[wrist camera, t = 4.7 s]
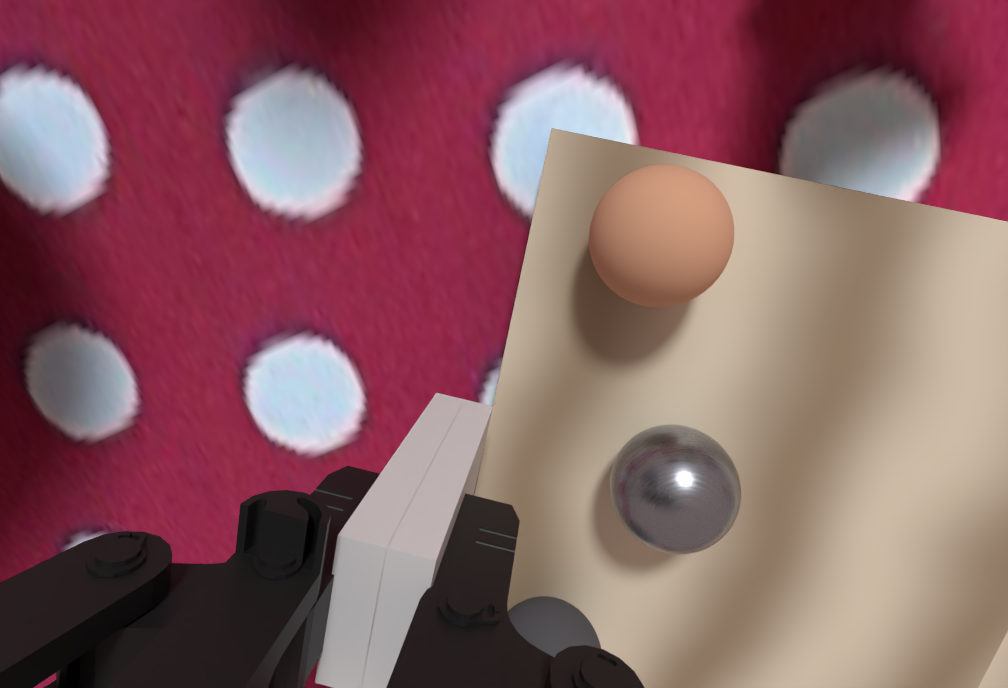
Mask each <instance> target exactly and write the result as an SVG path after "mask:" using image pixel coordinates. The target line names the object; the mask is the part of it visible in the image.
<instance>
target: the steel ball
mask: <svg viewBox="0 0 1008 688" xmlns="http://www.w3.org/2000/svg"><path fill="white" fill-rule="evenodd" d="M610 495H611V500H612V504H613V507H614V509H615V512H616V514H617V516H618V518H619V519H620V521H621V523H622V524H623V526H624V527H625V528H626V529H627V530H628V531H629V532H630V533H631V534H632V535H633V536H634V537H635V538H636V539H637V540H638V541H640V542H641V543H643V544H645V545H646V546H648V547H650V548H652V549H655V550H657V551H660V552H664V553H669V554H691V553H696V552H699V551H702V550H705V549H707V548H709V547H711V546H712V545H714V544H715V543H717V542H718V541H720V540H721V539H722V538H723V537H724V536H725V535H726V534H727V533H728V531H729V530H730V529H731V527H732V526H733V524H734V522H735V520H736V517H737V515H738V512H739V509H740V503H741V485H740V479H739V475H738V472H737V469H736V467H735V465H734V463H733V461H732V459H731V458H730V456H729V455H728V453H727V452H726V451H725V450H724V448H723V447H722V446H721V445H720V444H719V443H718V442H716V441H715V440H714V439H713V438H711V437H710V436H708V435H707V434H705V433H703V432H701V431H699V430H697V429H694V428H691V427H687V426H683V425H674V424H668V425H659V426H654V427H651V428H648V429H646V430H644V431H642V432H640V433H638V434H637V435H635V436H634V437H632V438H631V439H630V440H629V441H628V442H627V443H626V444H625V445H624V446H623V448H622V449H621V450H620V452H619V453H618V455H617V457H616V459H615V461H614V464H613V467H612V470H611V475H610Z"/></svg>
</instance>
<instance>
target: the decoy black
mask: <svg viewBox="0 0 1008 688" xmlns="http://www.w3.org/2000/svg"><path fill="white" fill-rule="evenodd" d="M508 615H509V618H510V621H511V623H512V624H513V626H514V627H515V629H516V630H517V632H518V633H519V634H520V635H521V636H522V637H523V638H524V639H525V640H526V641H528V642H529V643H531V644H532V645H534V646H535V647H537V648H538V649H540V650H542V651H544V652H545V653H547V654H549V655H551V656H553V657H554V658H555V656H556V654H557V653H559V652H560V651H562V650H564V649H566V648H568V647H570V646H581V645H587V646H591V647H596V648H600V649H601V645H600V642H599V639H598V636H597V634H596V631H595V629H594V628H593V626H592V624H591V623H590V621H589V620H588V619H587V617H586V616H585V615H584V614H583V613H582V612H581V611H580V610H579V609H578V608H576V607H575V606H573V605H572V604H570V603H568V602H566V601H564V600H562V599H559V598H555V597H549V596H539V597H533V598H529V599H527V600H524V601H522V602H520V603H518V604H516V605H515V606H514V607H512V608H511V609H510V610H509V611H508Z"/></svg>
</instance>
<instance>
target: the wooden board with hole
mask: <svg viewBox="0 0 1008 688" xmlns="http://www.w3.org/2000/svg"><path fill="white" fill-rule="evenodd" d="M654 165H676V166H682V167H685V168H689V169H691V170H694V171H696V172H698V173H700V174H702V175H703V176H705V177H706V178H708V179H709V180H710V181H711V182H712V183H714V185H715V186H716V187H717V188H718V189H719V190H720V191H721V193H722V194H723V196H724V197H725V199H726V201H727V203H728V205H729V207H730V210H731V213H732V216H733V221H734V245H733V249H732V253H731V256H730V258H729V261H728V263H727V265H726V267H725V269H724V271H723V272H722V274H721V275H720V277H719V278H718V279H717V280H716V281H715V283H714V284H713V285H712V286H711V287H709V288H708V289H707V290H706V291H705V292H703V293H702V294H700V295H699V296H697V297H696V298H694V299H692V300H690V301H688V302H685V303H682V304H679V305H675V306H669V307H647V306H641V305H638V304H634V303H632V302H630V301H627V300H625V299H624V298H622V297H620V296H619V295H617V294H616V293H615V292H613V291H612V290H611V289H610V288H609V287H608V286H607V285H606V284H605V283H604V282H603V280H602V279H601V277H600V276H599V274H598V273H597V271H596V269H595V267H594V264H593V261H592V258H591V254H590V248H589V231H590V225H591V221H592V218H593V214H594V212H595V210H596V208H597V205H598V204H599V202H600V200H601V199H602V197H603V196H604V195H605V193H606V192H607V191H608V190H609V189H610V188H611V187H612V186H613V185H614V184H615V183H616V182H617V181H619V180H620V179H621V178H623V177H624V176H626V175H628V174H629V173H631V172H633V171H636V170H638V169H641V168H644V167H648V166H654ZM668 424H674V425H683V426H687V427H691V428H694V429H697V430H699V431H701V432H703V433H705V434H707V435H708V436H710V437H711V438H713V439H714V440H715V441H716V442H718V443H719V444H720V445H721V446H722V447H723V448H724V450H725V451H726V452H727V453H728V455H729V456H730V458H731V459H732V461H733V463H734V465H735V467H736V469H737V472H738V475H739V479H740V485H741V503H740V509H739V512H738V515H737V517H736V520H735V522H734V524H733V526H732V527H731V529H730V530H729V531H728V533H727V534H726V535H725V536H724V537H723V538H722V539H721V540H720V541H718V542H717V543H715V544H714V545H712V546H711V547H709V548H707V549H705V550H702V551H699V552H696V553H691V554H669V553H664V552H660V551H657V550H655V549H652V548H650V547H648V546H646V545H645V544H643V543H641V542H640V541H638V540H637V539H636V538H635V537H634V536H633V535H632V534H631V533H630V532H629V531H628V530H627V529H626V528H625V527H624V526H623V524H622V523H621V521H620V519H619V518H618V516H617V514H616V512H615V509H614V507H613V504H612V500H611V495H610V475H611V470H612V467H613V464H614V461H615V459H616V457H617V455H618V453H619V452H620V450H621V449H622V448H623V446H624V445H625V444H626V443H627V442H628V441H629V440H630V439H631V438H632V437H634V436H635V435H637V434H638V433H640V432H642V431H644V430H646V429H648V428H651V427H654V426H659V425H668ZM474 496H478V497H482V498H486V499H490V500H494V501H498V502H502V503H506V504H510V505H512V506H513V508H514V510H515V512H516V514H517V516H518V518H519V520H520V523H519V529H518V536H517V542H516V549H515V555H514V562H513V569H512V575H511V582H510V588H509V595H508V601H507V612H508V611H509V610H510V609H511V608H512V607H514V606H515V605H516V604H518V603H520V602H522V601H524V600H527V599H529V598H533V597H539V596H549V597H555V598H559V599H562V600H564V601H566V602H568V603H570V604H572V605H573V606H575V607H576V608H578V609H579V610H580V611H581V612H582V613H583V614H584V615H585V616H586V617H587V619H588V620H589V621H590V623H591V624H592V626H593V628H594V629H595V631H596V634H597V636H598V639H599V642H600V645H601V649H604V650H605V651H607V652H609V653H611V654H613V655H615V656H617V657H619V658H620V659H621V660H623V661H624V662H625V663H626V664H627V665H628V666H629V667H630V668H631V669H632V670H634V671H635V673H636V675H637V676H638V678H639V679H640V681H641V683H642V684H643V686H644V687H645V688H1008V222H1006V221H1001V220H996V219H992V218H987V217H982V216H977V215H972V214H967V213H962V212H958V211H953V210H948V209H943V208H938V207H933V206H928V205H923V204H919V203H914V202H909V201H904V200H899V199H894V198H889V197H884V196H880V195H875V194H870V193H865V192H860V191H855V190H850V189H845V188H841V187H836V186H831V185H826V184H821V183H816V182H811V181H807V180H802V179H797V178H792V177H787V176H782V175H777V174H772V173H768V172H763V171H758V170H753V169H748V168H743V167H738V166H733V165H729V164H724V163H719V162H714V161H709V160H704V159H699V158H694V157H690V156H685V155H680V154H675V153H670V152H665V151H660V150H656V149H651V148H646V147H641V146H636V145H631V144H626V143H621V142H617V141H612V140H607V139H602V138H597V137H592V136H587V135H582V134H578V133H573V132H568V131H563V130H558V129H553V128H552V129H551V134H550V138H549V143H548V148H547V153H546V157H545V162H544V167H543V172H542V176H541V181H540V186H539V190H538V195H537V200H536V205H535V209H534V214H533V219H532V224H531V228H530V233H529V238H528V243H527V247H526V252H525V257H524V261H523V266H522V271H521V276H520V280H519V285H518V290H517V295H516V299H515V304H514V309H513V314H512V318H511V323H510V328H509V332H508V337H507V342H506V347H505V351H504V356H503V361H502V366H501V370H500V375H499V380H498V385H497V389H496V394H495V399H494V403H493V409H492V414H491V418H490V423H489V427H488V432H487V437H486V441H485V446H484V451H483V456H482V460H481V465H480V470H479V474H478V479H477V484H476V489H475V493H474Z"/></svg>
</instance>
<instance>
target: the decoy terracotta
mask: <svg viewBox="0 0 1008 688" xmlns="http://www.w3.org/2000/svg"><path fill="white" fill-rule="evenodd" d="M733 245H734V221H733V216H732V213H731V210H730V207H729V205H728V203H727V201H726V199H725V197H724V196H723V194H722V193H721V191H720V190H719V189H718V188H717V187H716V186H715V185H714V183H712V182H711V181H710V180H709V179H708V178H706V177H705V176H703V175H702V174H700V173H698V172H696V171H694V170H691V169H689V168H685V167H682V166H676V165H654V166H648V167H644V168H641V169H638V170H636V171H633V172H631V173H629V174H628V175H626V176H624V177H623V178H621V179H620V180H619V181H617V182H616V183H615V184H614V185H613V186H612V187H611V188H610V189H609V190H608V191H607V192H606V193H605V195H604V196H603V197H602V199H601V200H600V202H599V204H598V205H597V208H596V210H595V212H594V214H593V218H592V221H591V225H590V231H589V248H590V254H591V258H592V261H593V264H594V267H595V269H596V271H597V273H598V274H599V276H600V277H601V279H602V280H603V282H604V283H605V284H606V285H607V286H608V287H609V288H610V289H611V290H612V291H613V292H615V293H616V294H617V295H619V296H620V297H622V298H624V299H625V300H627V301H630V302H632V303H634V304H638V305H641V306H647V307H669V306H675V305H679V304H682V303H685V302H688V301H690V300H692V299H694V298H696V297H697V296H699V295H700V294H702V293H703V292H705V291H706V290H707V289H708V288H709V287H711V286H712V285H713V284H714V283H715V281H716V280H717V279H718V278H719V277H720V275H721V274H722V272H723V271H724V269H725V267H726V265H727V263H728V261H729V258H730V256H731V253H732V249H733Z"/></svg>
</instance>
